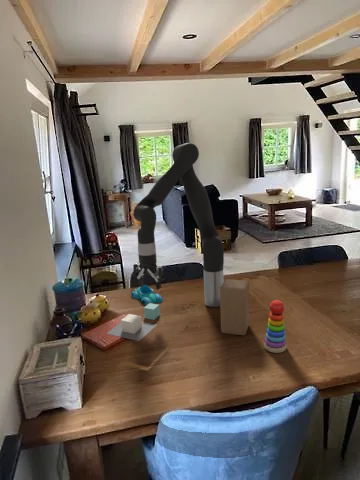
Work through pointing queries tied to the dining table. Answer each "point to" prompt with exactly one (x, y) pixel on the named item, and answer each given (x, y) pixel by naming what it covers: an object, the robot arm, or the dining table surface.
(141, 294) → the toy car
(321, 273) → the dining table surface
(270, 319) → the stacking toy
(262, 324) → the dining table surface
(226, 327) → the block
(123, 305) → the dining table surface
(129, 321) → the cream brick
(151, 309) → the teal brick
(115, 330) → the board
